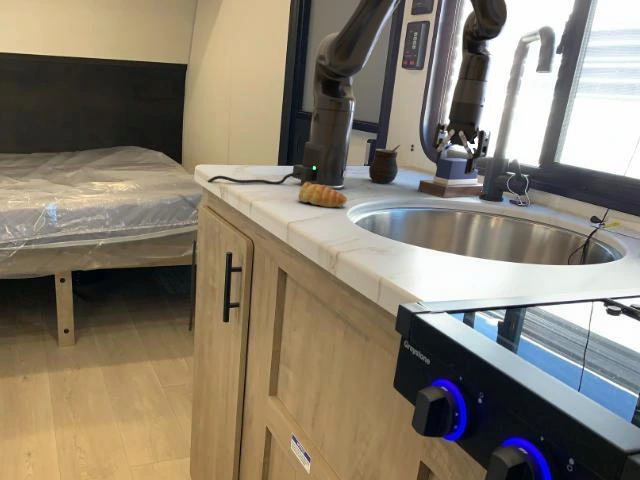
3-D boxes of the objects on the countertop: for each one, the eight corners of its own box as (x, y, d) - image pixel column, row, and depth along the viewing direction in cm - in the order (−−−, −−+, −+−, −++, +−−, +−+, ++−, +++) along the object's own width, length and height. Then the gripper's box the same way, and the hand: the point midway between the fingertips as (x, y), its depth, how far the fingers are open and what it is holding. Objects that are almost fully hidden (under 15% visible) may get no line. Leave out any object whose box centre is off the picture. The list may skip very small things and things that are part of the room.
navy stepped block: (447, 185, 142) (452, 161, 140) (432, 181, 146) (437, 158, 144) (476, 184, 148) (482, 161, 146) (462, 180, 151) (467, 158, 149)
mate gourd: (376, 178, 159) (383, 139, 155) (401, 183, 154) (409, 144, 150) (361, 180, 154) (367, 140, 150) (386, 186, 149) (394, 144, 145)
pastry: (349, 205, 122) (352, 186, 121) (339, 211, 117) (342, 191, 115) (306, 197, 126) (308, 179, 125) (294, 202, 120) (297, 183, 119)
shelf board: (443, 197, 140) (445, 186, 139) (417, 190, 147) (419, 180, 146) (486, 195, 149) (489, 185, 148) (460, 188, 155) (462, 178, 154)
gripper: (434, 97, 143) (420, 165, 149) (484, 103, 132) (467, 177, 137) (455, 99, 147) (441, 165, 152) (505, 104, 136) (488, 176, 141)
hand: (453, 171), depth 145 cm, fingers open, 8 cm apart
